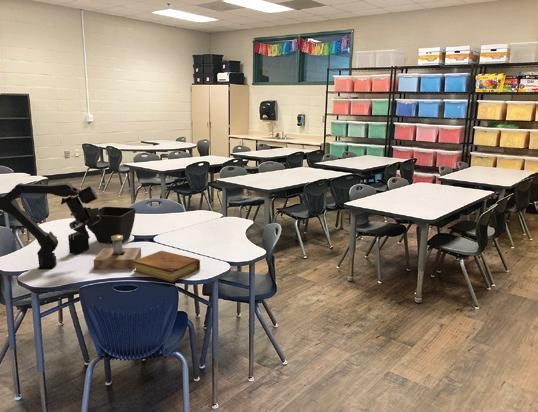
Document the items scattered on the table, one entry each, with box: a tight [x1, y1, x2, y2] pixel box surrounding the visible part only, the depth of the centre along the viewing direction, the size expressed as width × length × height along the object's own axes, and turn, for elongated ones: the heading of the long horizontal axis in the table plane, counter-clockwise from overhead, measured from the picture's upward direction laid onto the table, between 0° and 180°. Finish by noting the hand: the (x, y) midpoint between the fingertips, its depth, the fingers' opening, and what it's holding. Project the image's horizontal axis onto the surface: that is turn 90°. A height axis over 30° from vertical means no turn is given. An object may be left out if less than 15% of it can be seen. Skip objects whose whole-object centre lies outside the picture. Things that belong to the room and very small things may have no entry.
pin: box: [111, 235, 123, 256], centre depth 217 cm, size 5×5×13 cm
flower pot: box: [92, 206, 137, 245], centre depth 252 cm, size 19×19×17 cm
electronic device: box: [67, 230, 90, 256], centre depth 233 cm, size 4×10×10 cm, turn 164°
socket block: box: [93, 247, 142, 271], centre depth 218 cm, size 18×18×4 cm
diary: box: [133, 250, 201, 283], centre depth 209 cm, size 23×19×6 cm
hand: (93, 237), depth 214 cm, fingers open, 9 cm apart
